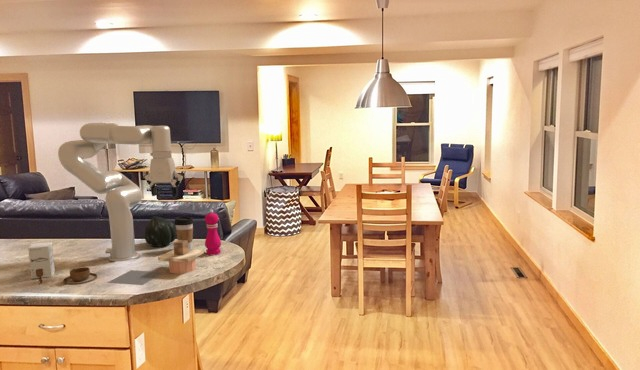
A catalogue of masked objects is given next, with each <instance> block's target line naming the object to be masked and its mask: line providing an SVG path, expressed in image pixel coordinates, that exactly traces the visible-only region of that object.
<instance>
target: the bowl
mask: <svg viewBox="0 0 640 370" xmlns="http://www.w3.org/2000/svg"><path fill="white" fill-rule="evenodd" d="M168 268H169V269H168V270H169V273H172V274H177V275H180V274H188V273H191V272H194V271H196V258H194V259H193V260H191V261H189V262H178V261H168Z"/></svg>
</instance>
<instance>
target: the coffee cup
mask: <svg viewBox="0 0 640 370" xmlns="http://www.w3.org/2000/svg"><path fill="white" fill-rule="evenodd" d="M193 224H194V218H193V217H190V216H177V217H175V218H174V226H175V228H176V238H177V241H178V240H188V249H193V240H194V239H193V237H194V233H193V232H194V225H193Z"/></svg>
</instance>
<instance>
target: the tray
mask: <svg viewBox="0 0 640 370" xmlns="http://www.w3.org/2000/svg"><path fill="white" fill-rule="evenodd" d="M164 273H165V272H164V271H151V270H148V271H147V270H136V269H135V270H131V269H130V270H129V271H127V272H125V273H122V274H121V275H119V276H117V277H115V278H113V279H111V280H110V281H107V283H106V284H120V285H121V284H123V285H135V286H144V285H145V284H147V283H148V282H150V281H152V280H153V279H156V278H157V277H159V276H161V275H163V274H164Z"/></svg>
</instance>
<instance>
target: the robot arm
mask: <svg viewBox="0 0 640 370" xmlns="http://www.w3.org/2000/svg"><path fill="white" fill-rule="evenodd" d="M79 136H80V139H78V140H77V139H76V140H69V141H66V142H64V143H62V144H61V145H60V146H59V147H58V150H57V152H58V153H57V154H58V155H57V157H58V160H59V162H60V164H61V166H62V167H63V168H64V170H66V171H67V172H68V173H69V174H71V175H72V176H74V177H75V178H77V179H78V180H79V181H80V182H81V183H82V184H84V185H85V186H87V187H88V188H89V189H91V191H93V192H95V193H96V194H97V195H98V194H99V195H104V194H106V195H105V198H104V200H105V205H106V209H107V212H108V218H109V221H108V222H109V228H110V242H111V247H107V248H106V250H105V254H109V255H110V256H109V257H108V261H110V262H113V263H116V262H126V261H131V260H137V259H139V257H140V253H139V252H136V243H135V241H136V239H135V230H134V218H133V217H134V216H133V214H132V212H131V209H130V207H132V206H135V205H138V204H139V203H140V202H141V201H142V199H143V192H142V189H141V187H139V186H138V185H137V184H136V183H134V182H133V181H132V180H131V179H129V178H128V177H127V176H126V175H124V174H123V173H121V171H117V170H106V171H104V170H101V169H99V168H98V167H96V166H95V164H92V163H91V162H88V161H86V159H90V158H91V159H92V158H93V157H95V156H96V155H98V154H99V153H100V152H101V150H102V149H103V148H104V147H105V146H106V145H107V144H112V145H113V144H115V145H117V144H118V145H145V144H151V150H152V151H151V152H150V153H149V154H150V156H151V157H152V158H151V159H150V164H149V173H148V174H146V175H145V176H144V179H145V181H146V184H148V185H149V187H150V191H151V192H150V193H151V196H152V197H155V196H158V186H157V184H171V186H172V187H171V191H172V197H177V196H178V194H179V186H180V185H181V184H182V180H183V179H184V176H183V175H182V174H179V173H177V170H176V164H175V160H174V158H172V156H173V155H172V142H171V140H172V139H171V128H170V127H169V126H168V125H147V124H146V125H145V124H144V125H119V124H118V123H105V122H88V123H85V124H83V125H82V126H81V127H80V129H79Z"/></svg>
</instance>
